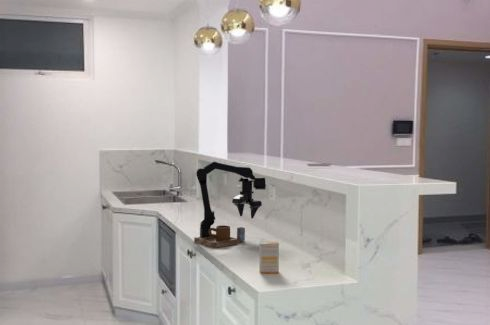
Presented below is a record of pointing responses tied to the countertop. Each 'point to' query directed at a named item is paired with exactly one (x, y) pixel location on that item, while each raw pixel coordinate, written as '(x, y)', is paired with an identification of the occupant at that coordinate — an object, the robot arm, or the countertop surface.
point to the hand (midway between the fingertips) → (246, 217)
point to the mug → (220, 233)
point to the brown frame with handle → (223, 243)
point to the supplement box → (269, 257)
